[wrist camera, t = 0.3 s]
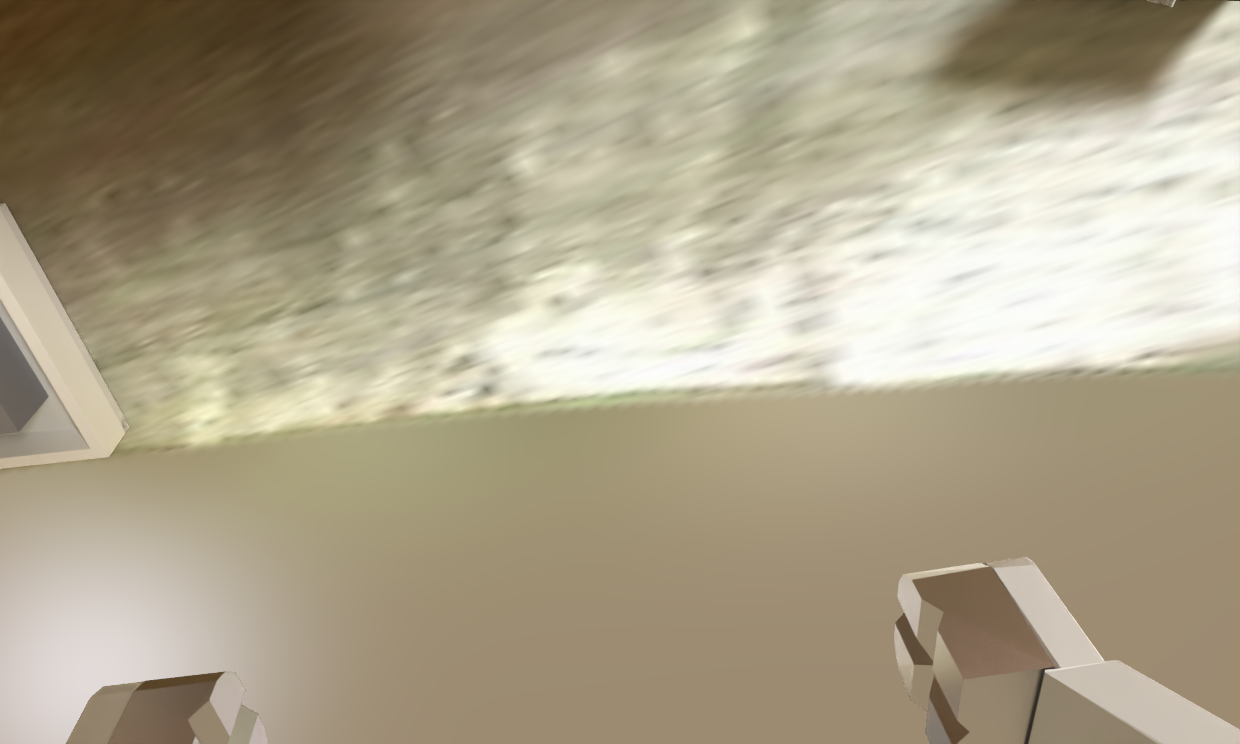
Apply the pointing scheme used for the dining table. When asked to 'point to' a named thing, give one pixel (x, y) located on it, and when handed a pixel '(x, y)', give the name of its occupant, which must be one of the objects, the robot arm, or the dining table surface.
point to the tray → (46, 370)
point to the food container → (1170, 2)
